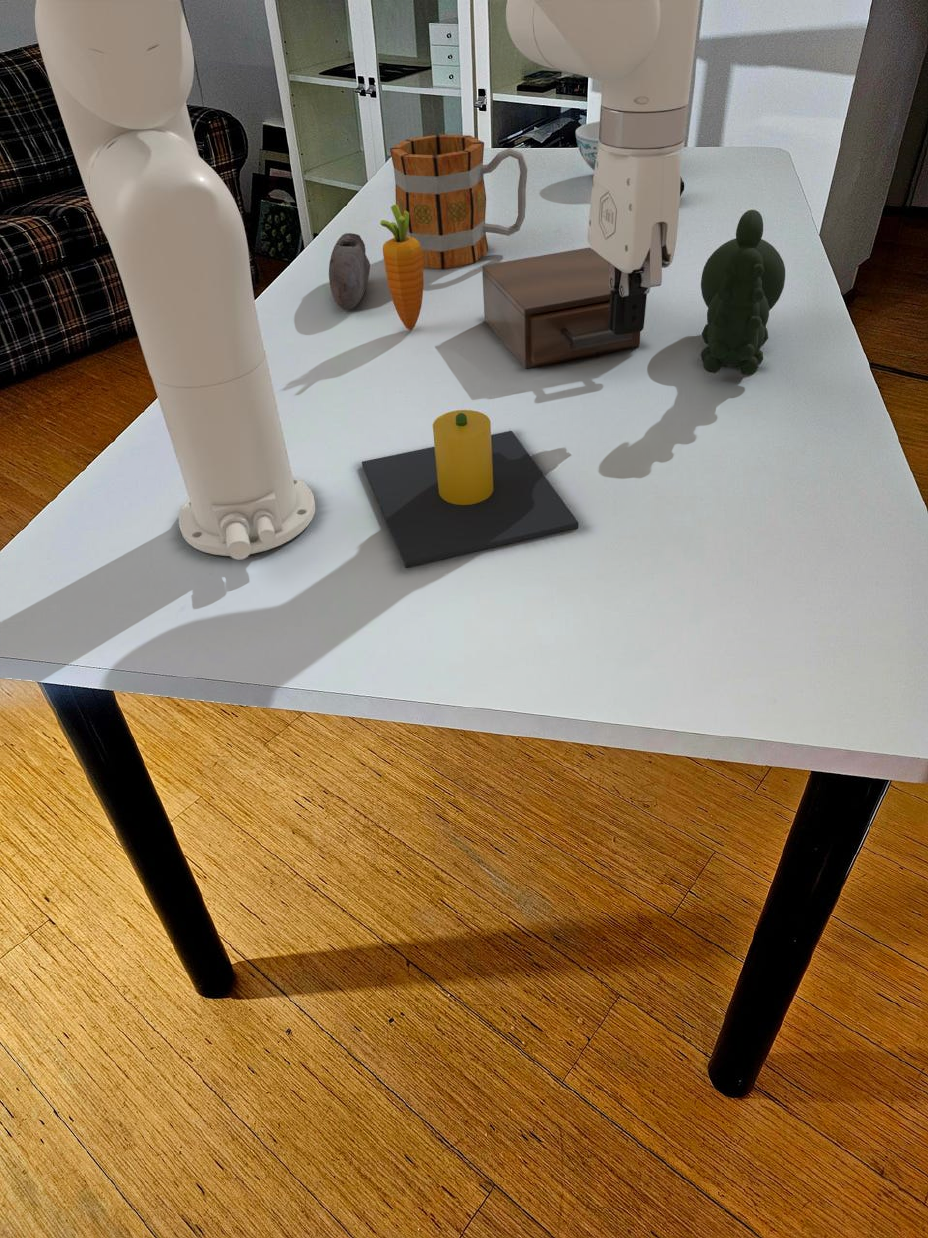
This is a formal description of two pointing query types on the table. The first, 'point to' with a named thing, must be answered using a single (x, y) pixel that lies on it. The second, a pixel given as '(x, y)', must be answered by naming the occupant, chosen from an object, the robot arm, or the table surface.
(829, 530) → the table surface
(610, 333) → the drawer
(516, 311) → the cabinet
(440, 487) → the pepper
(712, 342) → the toy figurine
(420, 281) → the carrot
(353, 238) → the perforated stone tool
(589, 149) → the chinaware
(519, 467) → the mat
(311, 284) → the table surface
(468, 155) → the mug
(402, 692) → the table surface
